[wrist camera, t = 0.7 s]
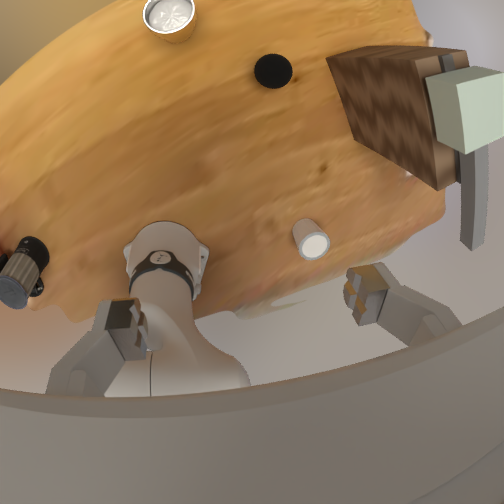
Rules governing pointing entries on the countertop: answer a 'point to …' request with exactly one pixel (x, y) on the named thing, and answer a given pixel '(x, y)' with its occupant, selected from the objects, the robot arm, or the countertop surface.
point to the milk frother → (22, 273)
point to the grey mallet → (469, 135)
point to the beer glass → (170, 19)
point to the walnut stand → (398, 106)
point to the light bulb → (273, 71)
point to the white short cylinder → (310, 239)
